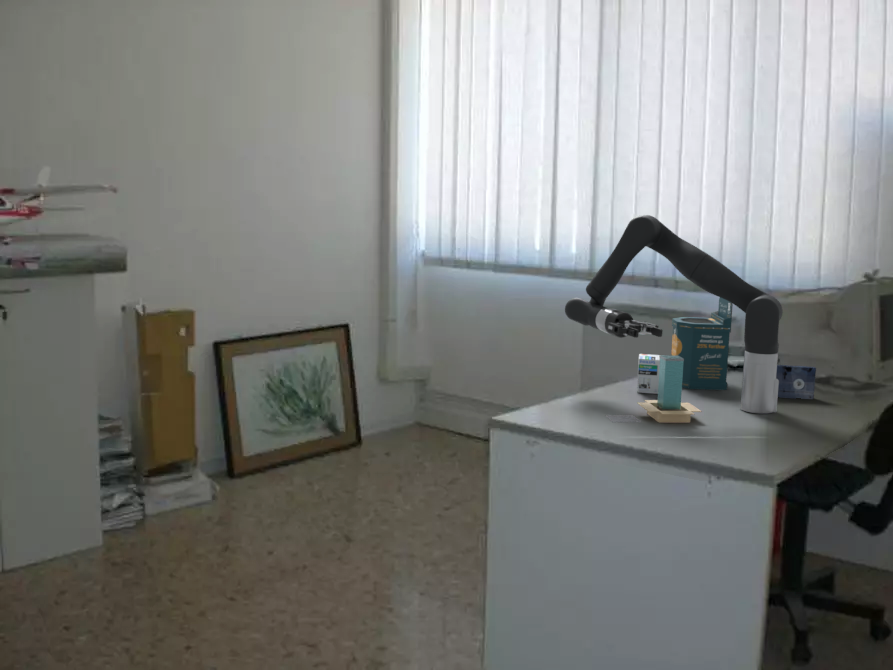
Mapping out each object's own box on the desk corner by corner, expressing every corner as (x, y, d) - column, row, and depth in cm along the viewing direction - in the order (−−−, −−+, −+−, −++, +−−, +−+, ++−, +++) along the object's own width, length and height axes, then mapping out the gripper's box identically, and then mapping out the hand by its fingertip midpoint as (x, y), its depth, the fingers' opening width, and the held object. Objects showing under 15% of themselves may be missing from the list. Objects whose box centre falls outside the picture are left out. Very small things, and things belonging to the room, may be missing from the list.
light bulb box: (658, 394, 316) (660, 360, 315) (636, 393, 318) (638, 358, 316) (658, 387, 327) (660, 354, 325) (637, 386, 328) (639, 353, 326)
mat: (633, 416, 285) (633, 415, 285) (641, 423, 277) (641, 422, 277) (605, 416, 284) (605, 415, 284) (612, 423, 276) (612, 421, 276)
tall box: (674, 415, 286) (677, 355, 283) (680, 419, 281) (683, 358, 278) (656, 415, 285) (659, 355, 283) (662, 419, 280) (665, 358, 278)
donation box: (726, 390, 326) (732, 302, 322) (676, 388, 326) (681, 301, 322) (714, 380, 342) (720, 296, 337) (665, 378, 342) (671, 295, 338)
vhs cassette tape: (812, 398, 317) (815, 366, 316) (814, 400, 314) (816, 368, 313) (751, 394, 320) (753, 363, 319) (752, 396, 317) (754, 364, 316)
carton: (684, 412, 292) (684, 400, 292) (704, 426, 276) (705, 413, 275) (633, 412, 291) (634, 400, 290) (650, 426, 274) (651, 413, 274)
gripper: (596, 310, 298) (631, 321, 285) (634, 309, 305) (670, 320, 291) (593, 335, 300) (628, 347, 286) (631, 334, 307) (667, 346, 293)
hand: (649, 333), depth 289 cm, fingers open, 8 cm apart
